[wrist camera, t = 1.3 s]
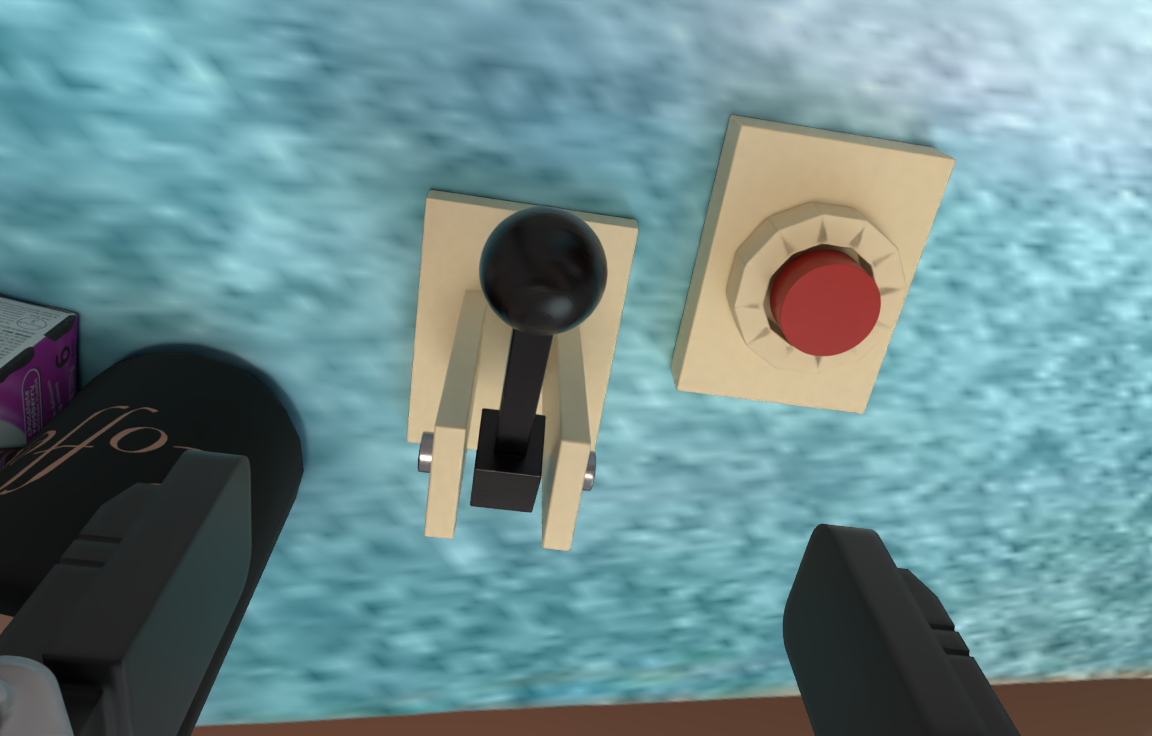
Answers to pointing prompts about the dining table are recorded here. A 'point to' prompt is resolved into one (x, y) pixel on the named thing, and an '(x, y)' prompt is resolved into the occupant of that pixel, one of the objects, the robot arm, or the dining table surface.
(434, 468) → the lever base
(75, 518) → the coffee jar
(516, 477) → the black lever
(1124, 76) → the dining table surface
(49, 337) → the candy bar box
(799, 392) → the button block
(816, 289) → the button
